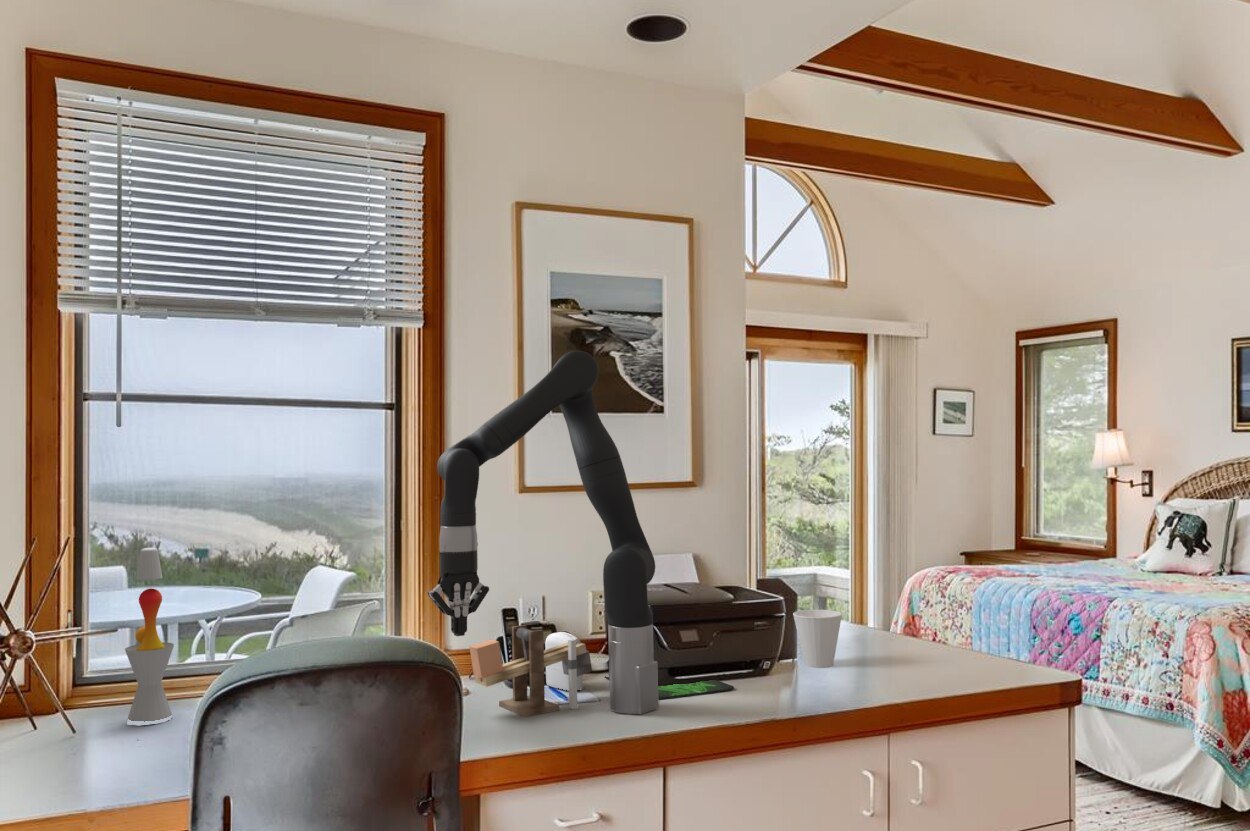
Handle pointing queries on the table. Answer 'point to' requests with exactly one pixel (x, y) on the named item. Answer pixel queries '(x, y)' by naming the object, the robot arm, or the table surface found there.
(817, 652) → the cup
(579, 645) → the beam
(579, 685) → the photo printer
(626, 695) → the robot arm
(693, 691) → the mouse mat
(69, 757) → the table surface
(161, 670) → the lava lamp
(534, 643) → the pivot post
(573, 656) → the post
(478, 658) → the rider
